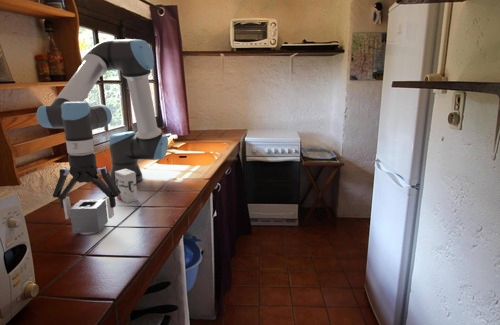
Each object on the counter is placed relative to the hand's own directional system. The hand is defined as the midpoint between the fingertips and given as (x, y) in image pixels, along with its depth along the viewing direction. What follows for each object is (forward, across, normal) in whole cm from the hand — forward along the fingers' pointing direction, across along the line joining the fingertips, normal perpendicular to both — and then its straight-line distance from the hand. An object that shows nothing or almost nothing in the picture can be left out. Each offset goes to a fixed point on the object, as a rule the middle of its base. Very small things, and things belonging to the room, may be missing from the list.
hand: (90, 217), depth 110 cm
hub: (+4, 0, 0) cm, 4 cm away
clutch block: (+3, 0, 0) cm, 4 cm away
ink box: (+5, +2, +29) cm, 29 cm away
